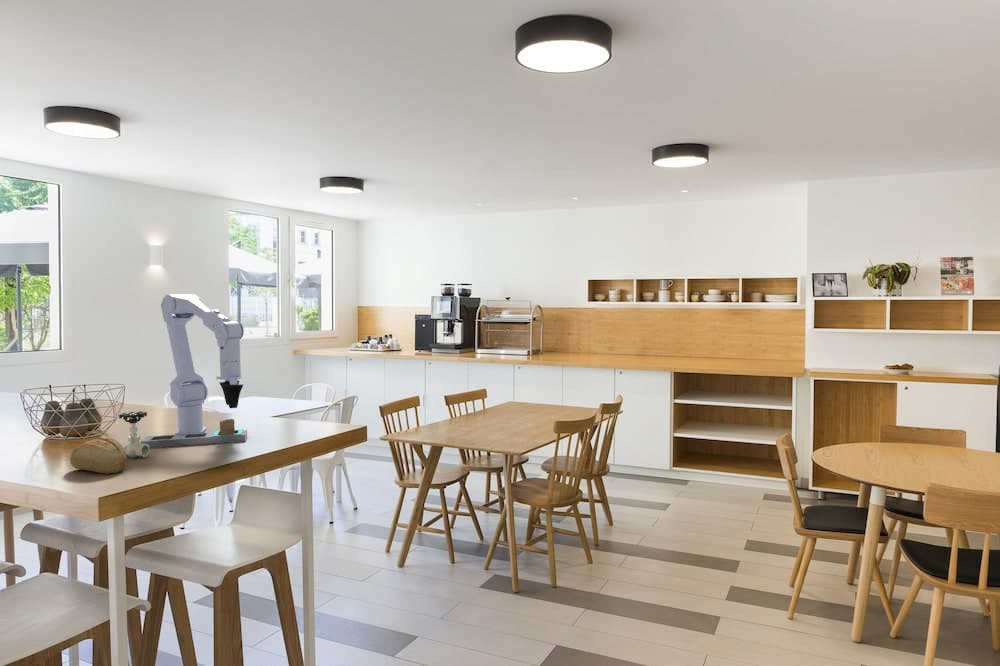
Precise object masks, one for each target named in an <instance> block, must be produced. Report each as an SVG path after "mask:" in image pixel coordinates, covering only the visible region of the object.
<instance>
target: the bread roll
mask: <svg viewBox="0 0 1000 666" xmlns="http://www.w3.org/2000/svg"><path fill="white" fill-rule="evenodd" d="M127 459H128V457H126V454H125V451H124V449H123V447H122V443H120V442H119V441H117V440H115V439H112V438H109V437H108V438H101V437H99V438H94V439H91V440H88V441H85V442H83V443H81V444H79V445H77V446H76V447H75V448H74V449H73V451H72V453H71V455H70V459H69V462H70V465H71V466H72V467H73V468H74V469H78V470H83V471H89V472H95V473H98V474H108V475H110V474H109V473H114V474H118V473H120V472H121V471H123V469H125V467H126V465H127ZM117 472H118V473H117Z"/></svg>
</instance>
